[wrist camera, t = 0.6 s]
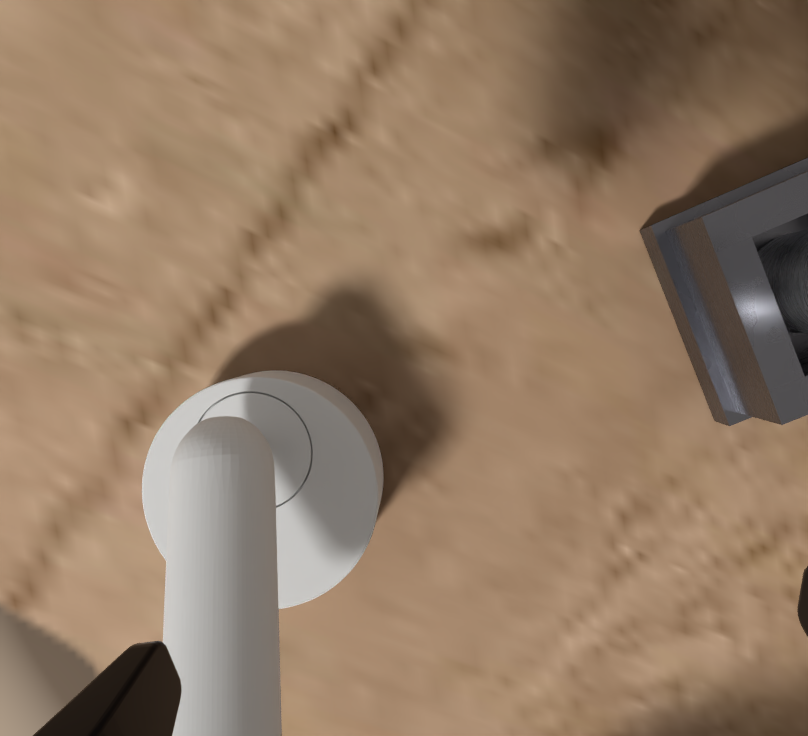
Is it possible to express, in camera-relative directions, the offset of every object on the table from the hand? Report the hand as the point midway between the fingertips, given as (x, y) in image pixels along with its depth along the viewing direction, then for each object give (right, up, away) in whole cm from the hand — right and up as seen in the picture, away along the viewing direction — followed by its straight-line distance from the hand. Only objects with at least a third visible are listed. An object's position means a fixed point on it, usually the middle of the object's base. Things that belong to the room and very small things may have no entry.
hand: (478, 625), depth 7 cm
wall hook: (-6, -1, +14) cm, 16 cm away
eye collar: (+13, +7, +13) cm, 20 cm away
